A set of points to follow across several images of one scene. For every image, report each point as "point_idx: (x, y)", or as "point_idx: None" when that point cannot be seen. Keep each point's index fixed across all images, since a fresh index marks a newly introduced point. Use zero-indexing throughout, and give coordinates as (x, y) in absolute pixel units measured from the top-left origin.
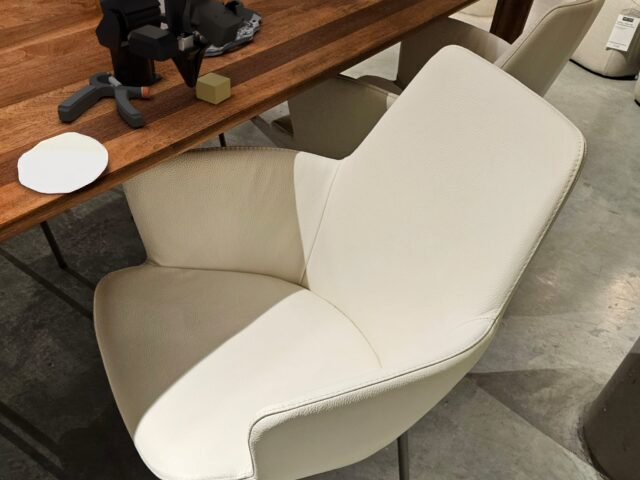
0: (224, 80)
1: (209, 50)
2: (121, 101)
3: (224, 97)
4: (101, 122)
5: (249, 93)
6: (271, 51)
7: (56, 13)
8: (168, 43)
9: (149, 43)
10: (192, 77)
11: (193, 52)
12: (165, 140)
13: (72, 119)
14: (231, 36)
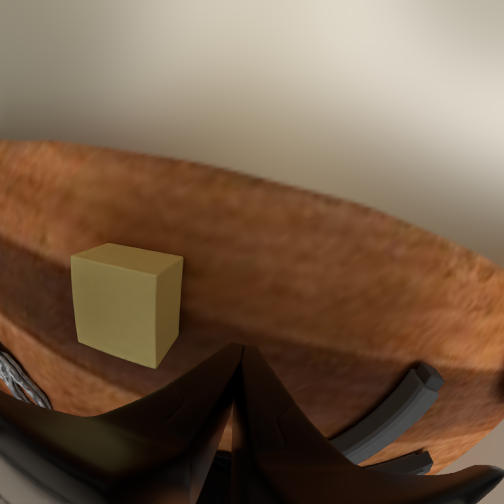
0: (91, 267)
1: (16, 376)
2: (378, 447)
3: (133, 249)
4: (410, 427)
5: (68, 202)
6: None
7: None
8: None
9: None
10: (264, 371)
11: (433, 485)
12: (461, 274)
13: (415, 454)
14: None
